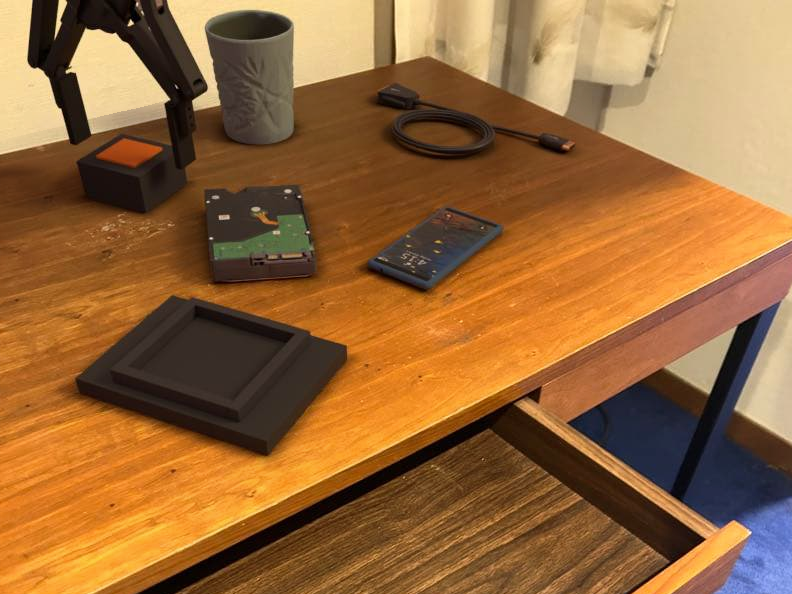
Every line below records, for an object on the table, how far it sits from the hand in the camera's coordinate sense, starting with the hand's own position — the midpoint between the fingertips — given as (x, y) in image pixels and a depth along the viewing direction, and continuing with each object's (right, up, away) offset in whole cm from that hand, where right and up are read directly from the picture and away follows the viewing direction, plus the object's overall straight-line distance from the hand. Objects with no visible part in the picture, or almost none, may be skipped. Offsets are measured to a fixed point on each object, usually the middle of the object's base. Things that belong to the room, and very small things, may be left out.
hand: (132, 152), depth 92 cm
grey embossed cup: (+11, +9, +15) cm, 21 cm away
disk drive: (+14, -11, -4) cm, 19 cm away
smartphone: (+33, -12, -4) cm, 35 cm away
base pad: (+13, -28, -19) cm, 36 cm away
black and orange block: (0, -3, +3) cm, 4 cm away
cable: (+35, +9, +15) cm, 39 cm away
